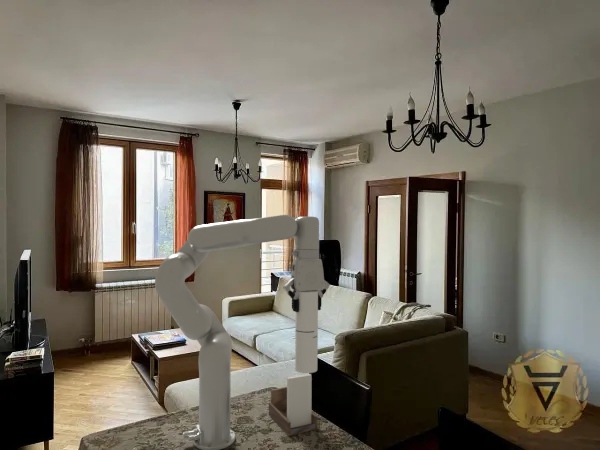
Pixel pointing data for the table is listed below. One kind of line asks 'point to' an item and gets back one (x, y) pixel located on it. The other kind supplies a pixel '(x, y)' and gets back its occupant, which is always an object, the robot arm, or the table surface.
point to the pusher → (299, 400)
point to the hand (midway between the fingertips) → (306, 310)
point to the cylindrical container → (306, 332)
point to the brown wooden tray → (280, 413)
